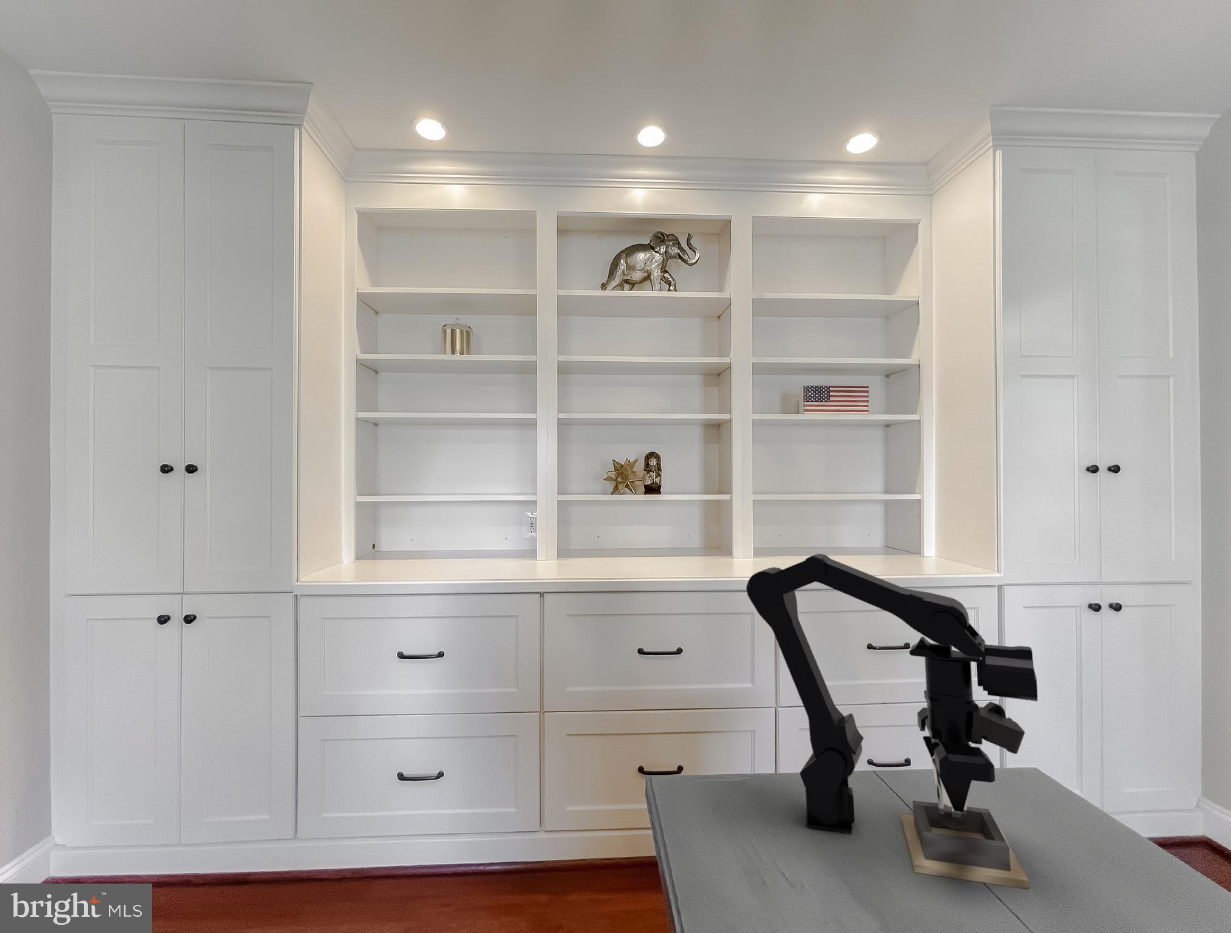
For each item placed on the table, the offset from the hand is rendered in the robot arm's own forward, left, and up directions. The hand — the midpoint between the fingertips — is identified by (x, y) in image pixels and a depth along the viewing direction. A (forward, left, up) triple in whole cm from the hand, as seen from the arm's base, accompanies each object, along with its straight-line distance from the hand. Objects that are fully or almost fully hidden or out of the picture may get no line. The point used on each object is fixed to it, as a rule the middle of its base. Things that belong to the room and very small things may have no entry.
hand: (955, 803), depth 84 cm
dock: (0, 0, -6) cm, 6 cm away
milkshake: (0, 0, -3) cm, 3 cm away
